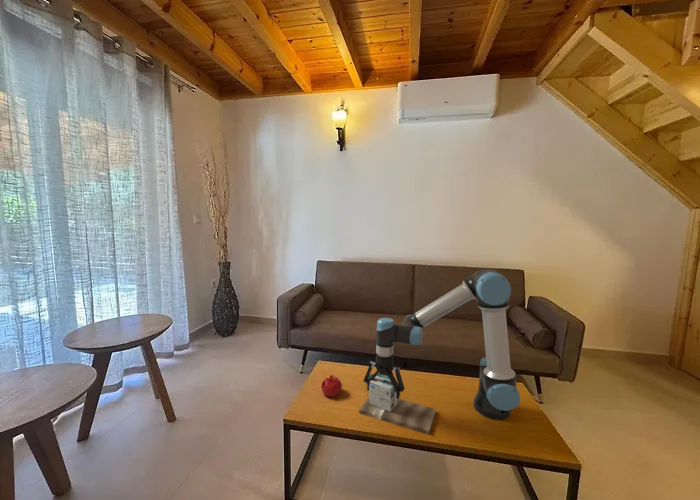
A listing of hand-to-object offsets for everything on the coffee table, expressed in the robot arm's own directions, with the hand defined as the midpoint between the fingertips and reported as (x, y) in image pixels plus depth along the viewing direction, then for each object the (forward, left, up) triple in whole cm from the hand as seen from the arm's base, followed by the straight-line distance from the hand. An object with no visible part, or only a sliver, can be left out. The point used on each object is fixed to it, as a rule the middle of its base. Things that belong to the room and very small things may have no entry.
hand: (383, 401), depth 137 cm
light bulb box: (0, 0, -2) cm, 2 cm away
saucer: (+8, -18, -4) cm, 20 cm away
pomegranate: (+26, 0, -4) cm, 26 cm away
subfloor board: (-7, 0, -3) cm, 8 cm away
